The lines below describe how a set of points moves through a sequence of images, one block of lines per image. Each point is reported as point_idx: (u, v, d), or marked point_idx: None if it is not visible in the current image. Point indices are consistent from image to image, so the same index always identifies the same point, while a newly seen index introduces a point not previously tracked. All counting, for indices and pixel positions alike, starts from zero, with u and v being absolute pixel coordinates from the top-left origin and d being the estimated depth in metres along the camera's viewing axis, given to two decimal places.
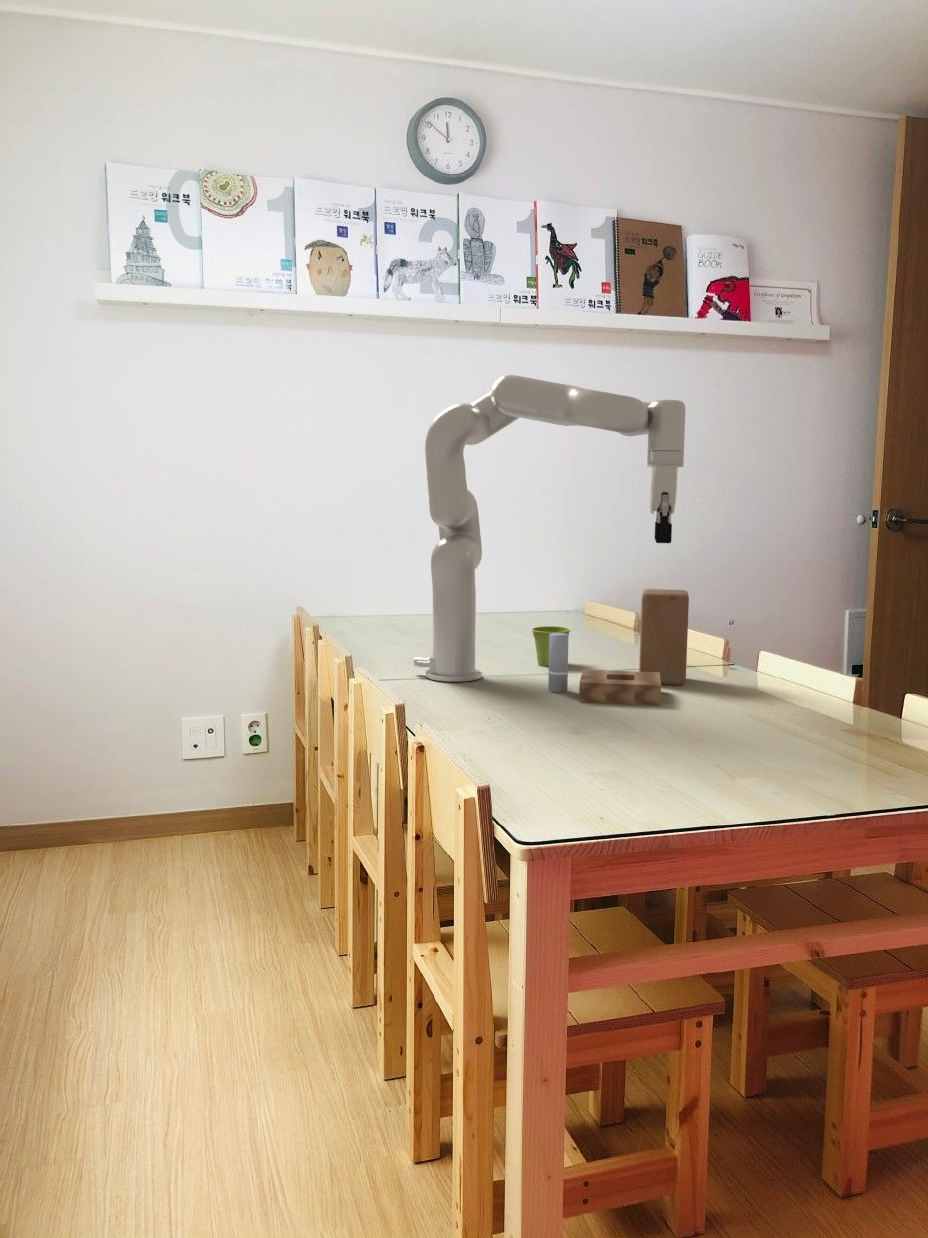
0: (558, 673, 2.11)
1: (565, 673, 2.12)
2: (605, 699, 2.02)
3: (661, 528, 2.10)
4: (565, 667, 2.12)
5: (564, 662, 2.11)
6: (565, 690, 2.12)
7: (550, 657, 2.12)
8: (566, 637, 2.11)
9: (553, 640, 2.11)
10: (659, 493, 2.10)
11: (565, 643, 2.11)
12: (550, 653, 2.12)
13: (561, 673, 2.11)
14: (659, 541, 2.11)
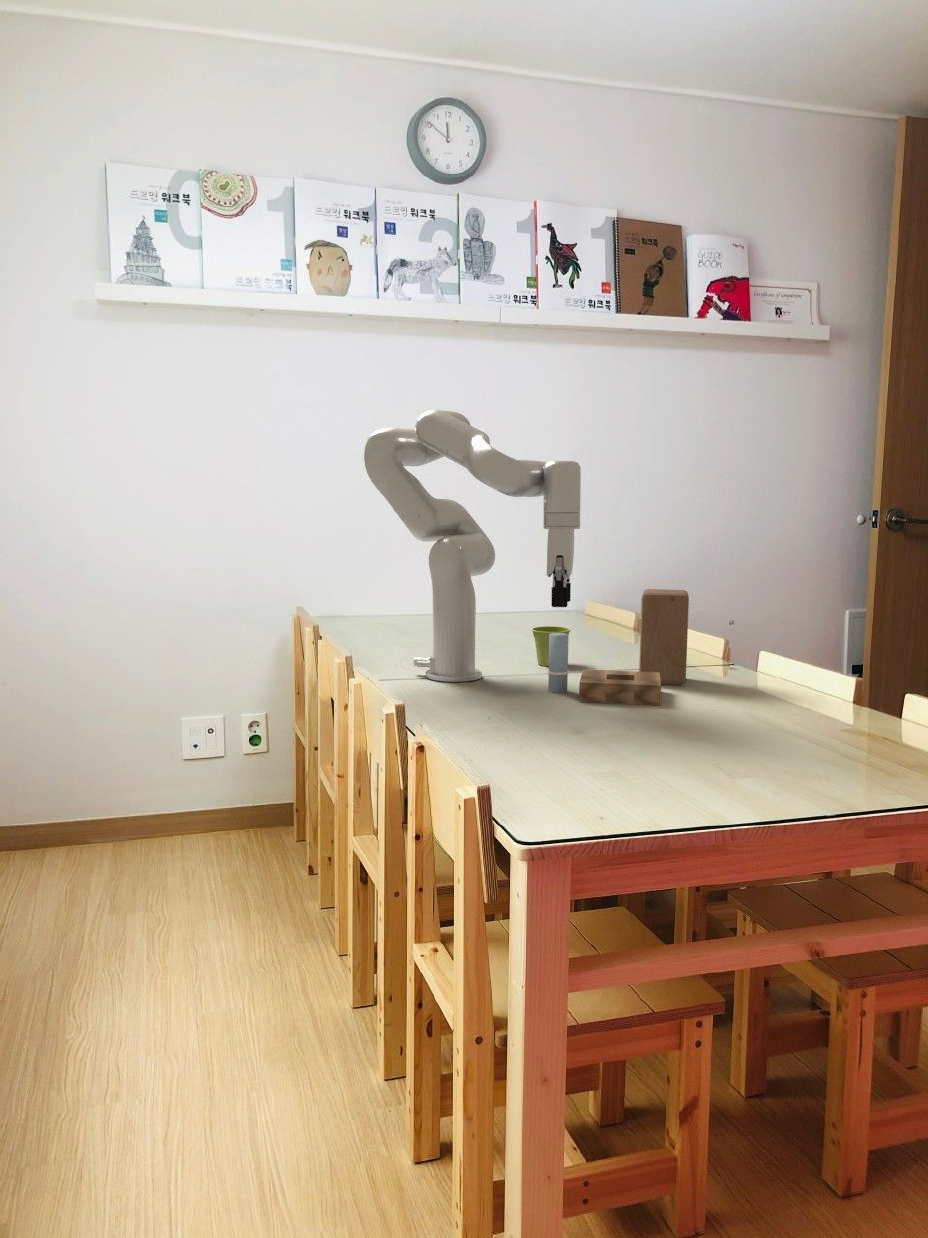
0: (558, 673, 2.11)
1: (565, 673, 2.12)
2: (605, 699, 2.02)
3: (556, 592, 2.05)
4: (565, 667, 2.12)
5: (564, 662, 2.11)
6: (565, 690, 2.12)
7: (550, 657, 2.12)
8: (566, 637, 2.11)
9: (553, 640, 2.11)
10: (554, 556, 2.05)
11: (565, 643, 2.11)
12: (550, 653, 2.12)
13: (561, 673, 2.11)
14: (555, 605, 2.06)
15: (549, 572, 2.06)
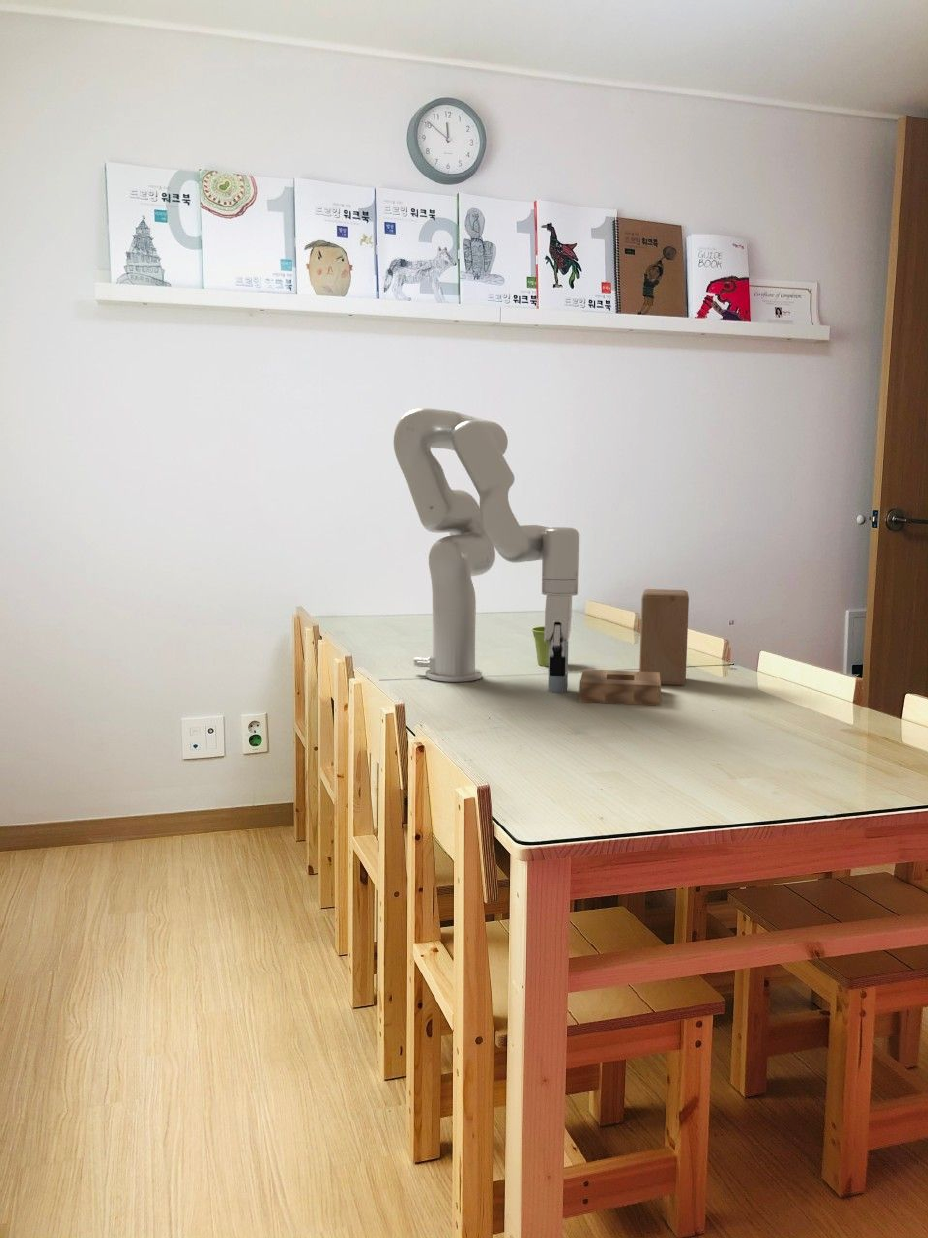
0: None
1: (565, 673, 2.12)
2: (605, 699, 2.02)
3: (554, 662, 2.09)
4: (565, 667, 2.12)
5: None
6: (565, 690, 2.12)
7: None
8: None
9: (553, 640, 2.11)
10: (551, 623, 2.07)
11: (565, 643, 2.11)
12: (550, 653, 2.12)
13: None
14: (553, 674, 2.11)
15: (547, 638, 2.08)
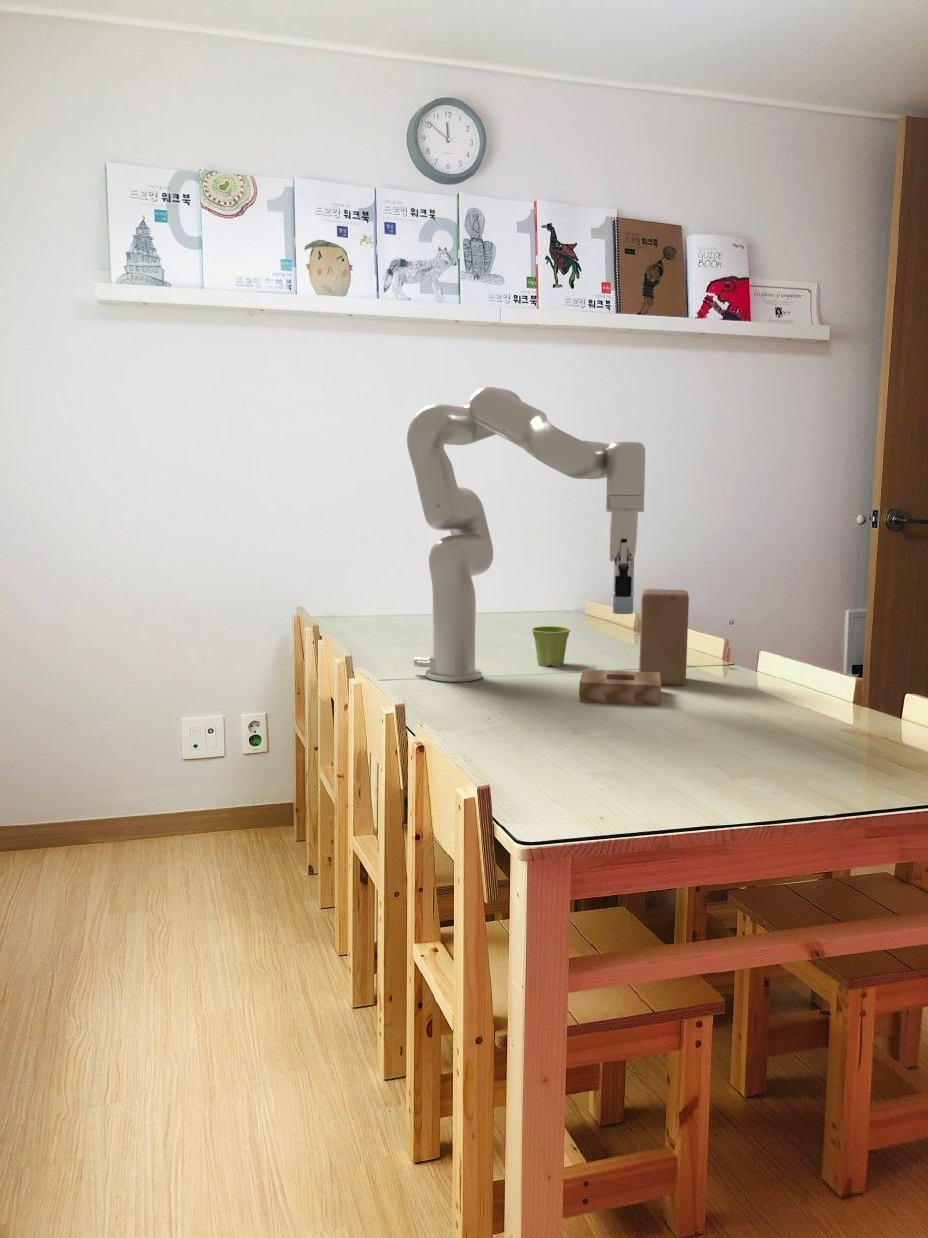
0: None
1: (631, 594, 2.04)
2: (605, 699, 2.02)
3: (620, 581, 2.02)
4: (631, 588, 2.04)
5: None
6: (631, 611, 2.05)
7: None
8: None
9: None
10: (618, 540, 1.99)
11: (631, 562, 2.03)
12: (615, 573, 2.04)
13: None
14: (618, 595, 2.03)
15: (613, 556, 2.00)
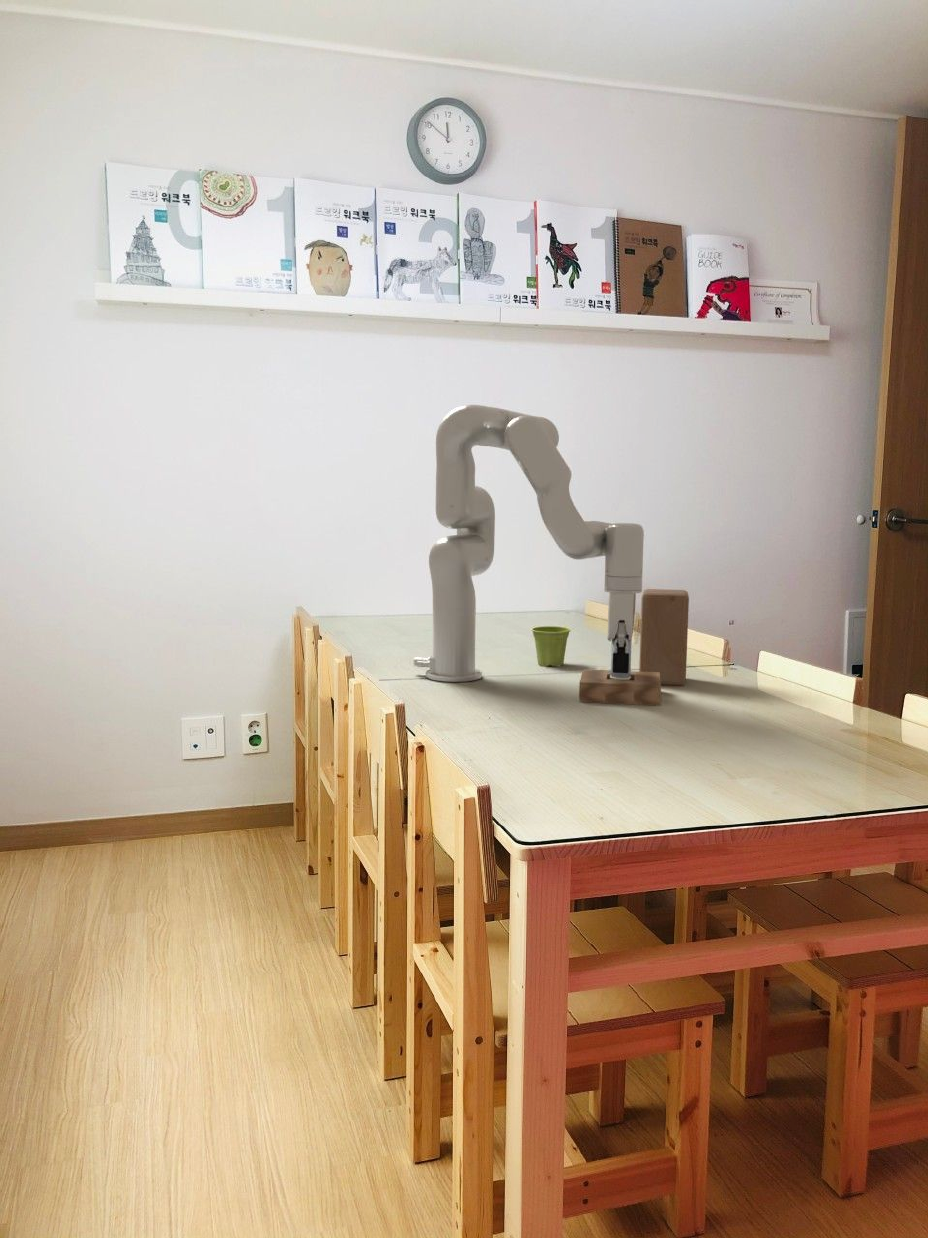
0: (621, 678, 2.06)
1: (628, 678, 2.07)
2: (605, 699, 2.02)
3: (618, 658, 2.02)
4: (628, 673, 2.07)
5: None
6: None
7: None
8: None
9: None
10: (616, 621, 2.02)
11: (628, 648, 2.06)
12: None
13: (624, 678, 2.06)
14: (616, 671, 2.03)
15: (611, 637, 2.02)
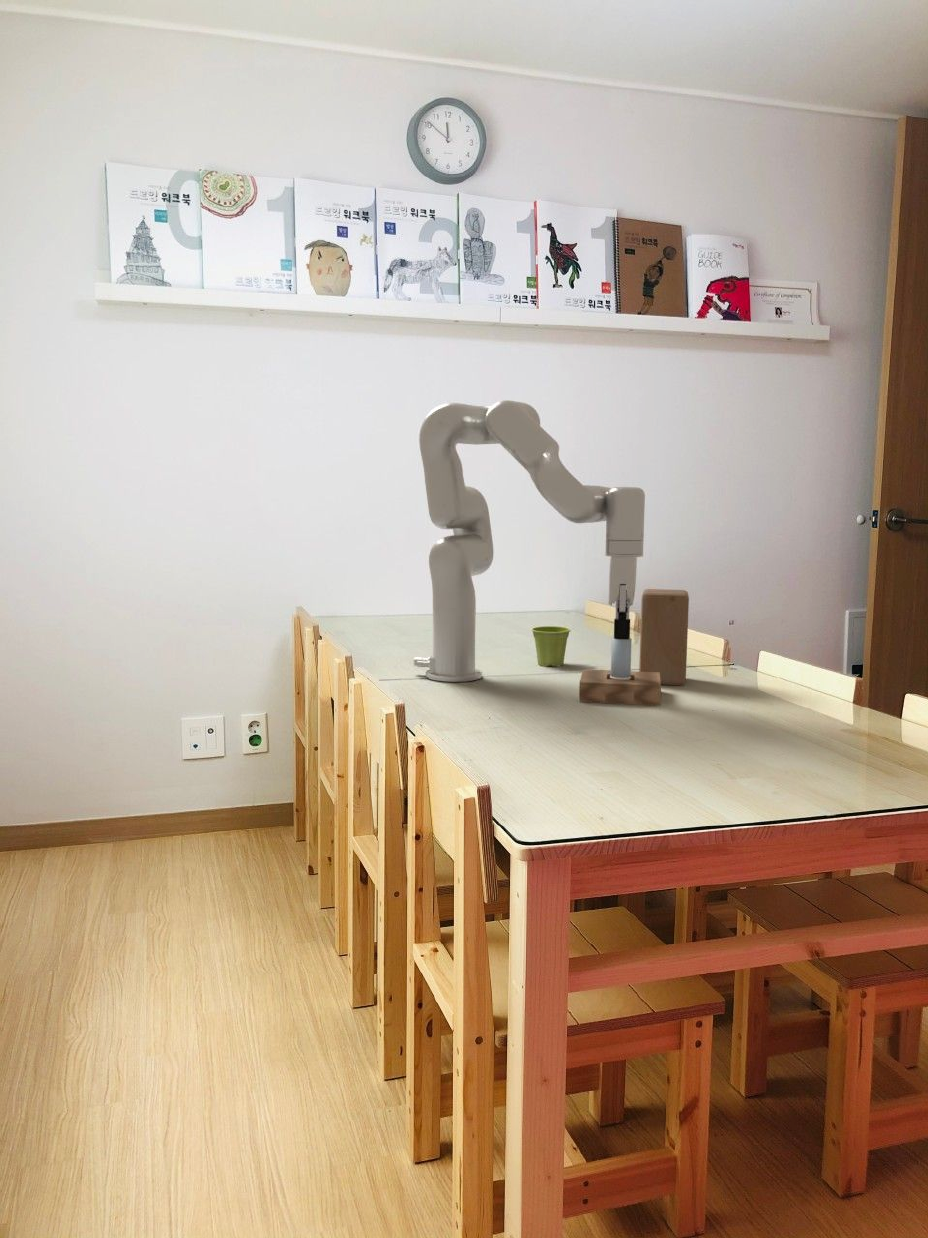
0: (621, 678, 2.06)
1: (628, 678, 2.07)
2: (605, 699, 2.02)
3: (619, 624, 2.05)
4: (628, 673, 2.07)
5: (627, 667, 2.06)
6: None
7: (613, 662, 2.07)
8: (629, 641, 2.06)
9: (616, 644, 2.06)
10: (617, 585, 2.01)
11: (628, 648, 2.06)
12: (613, 658, 2.07)
13: (624, 678, 2.06)
14: (617, 637, 2.06)
15: (612, 601, 2.01)
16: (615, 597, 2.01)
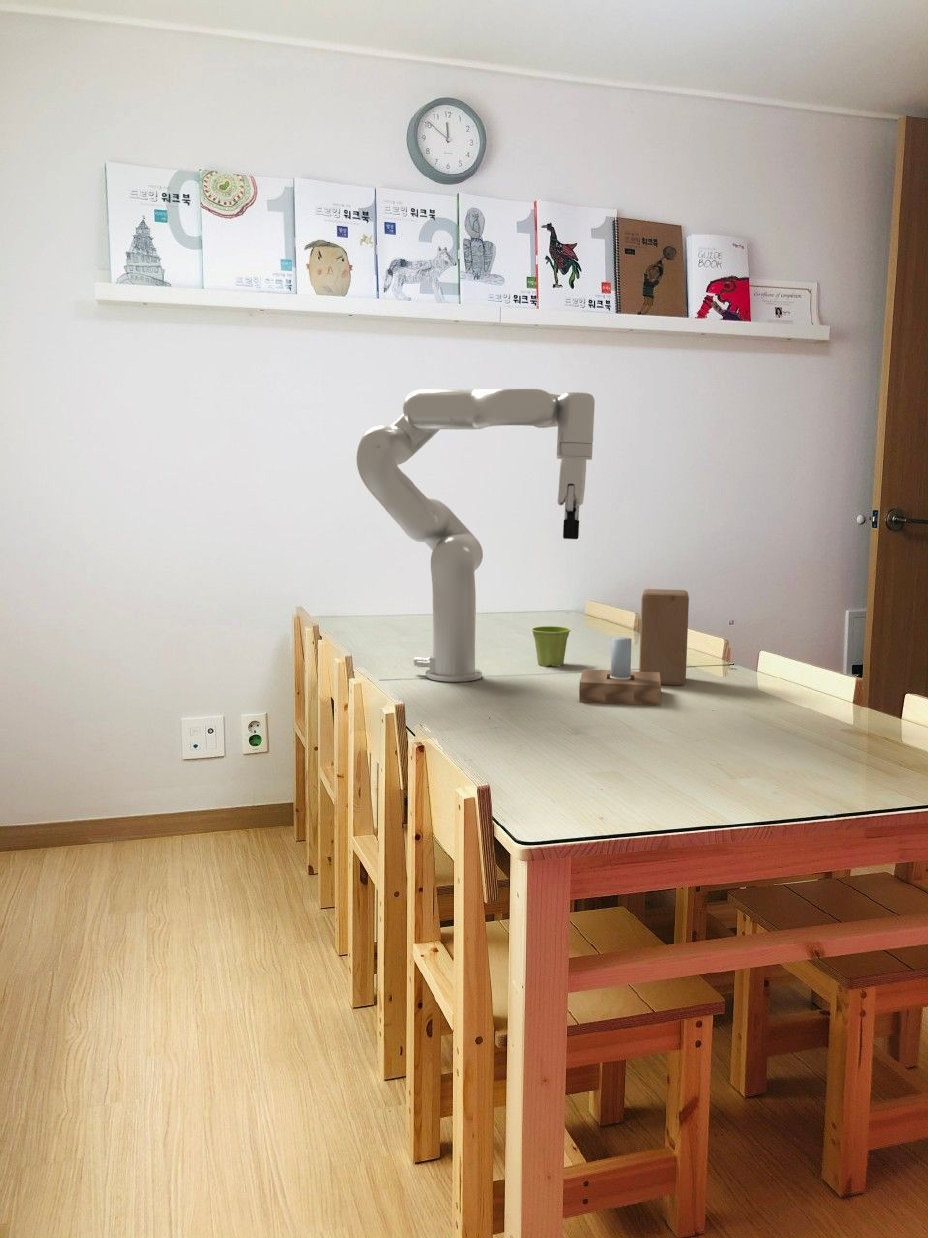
0: (621, 678, 2.06)
1: (628, 678, 2.07)
2: (605, 699, 2.02)
3: (568, 524, 2.16)
4: (628, 673, 2.07)
5: (627, 667, 2.06)
6: None
7: (612, 662, 2.07)
8: (629, 641, 2.06)
9: (616, 644, 2.06)
10: (565, 485, 2.12)
11: (628, 648, 2.06)
12: (613, 658, 2.07)
13: (624, 678, 2.06)
14: (566, 537, 2.17)
15: (560, 500, 2.12)
16: (563, 496, 2.12)
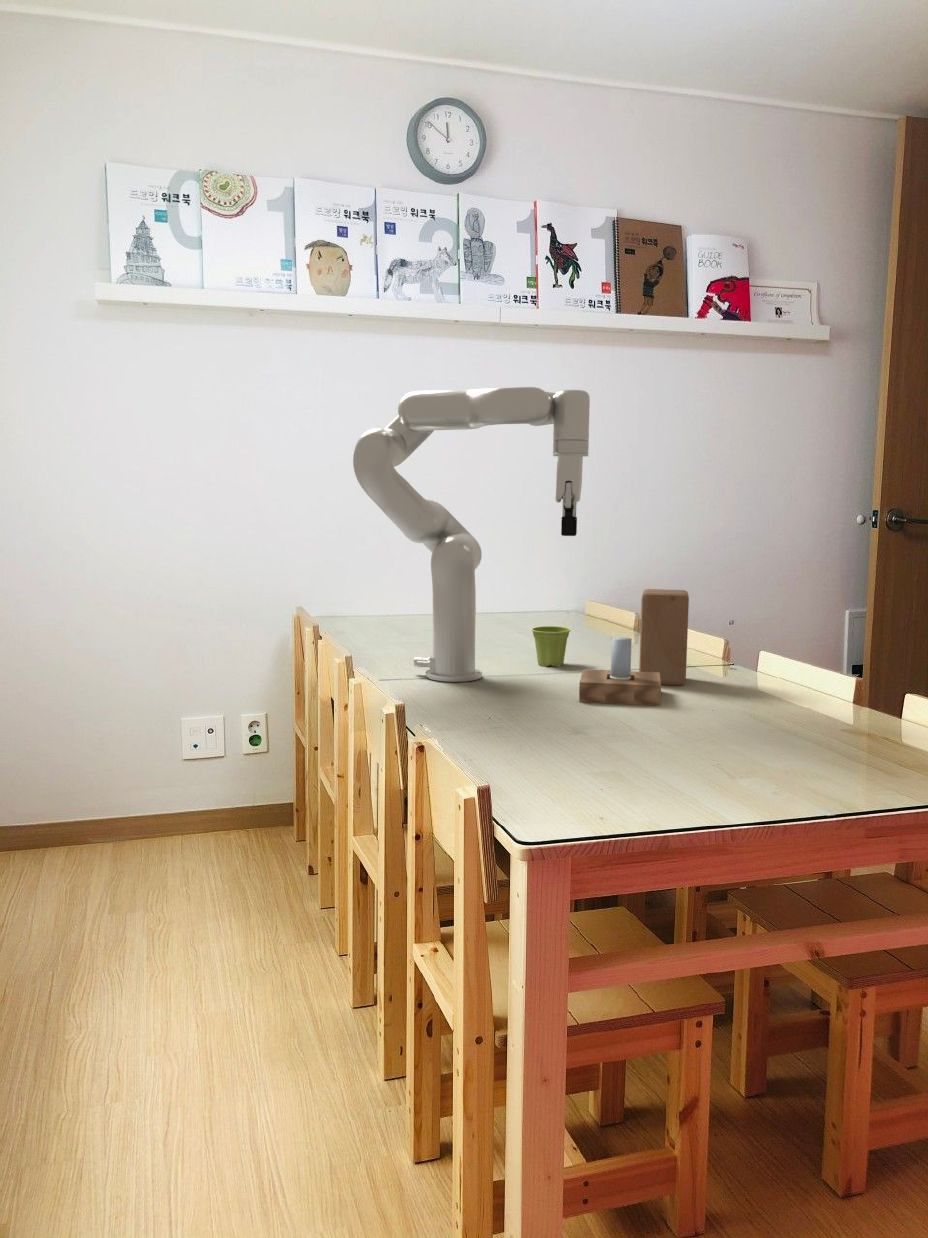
0: (621, 678, 2.06)
1: (628, 678, 2.07)
2: (605, 699, 2.02)
3: (566, 521, 2.17)
4: (628, 673, 2.07)
5: (627, 667, 2.06)
6: None
7: (612, 662, 2.07)
8: (629, 641, 2.06)
9: (616, 644, 2.06)
10: (563, 482, 2.12)
11: (628, 648, 2.06)
12: (613, 658, 2.07)
13: (624, 678, 2.06)
14: (564, 534, 2.18)
15: (558, 497, 2.13)
16: (561, 493, 2.13)
